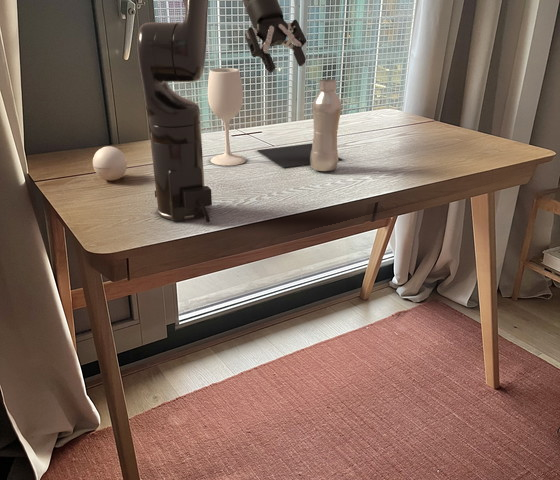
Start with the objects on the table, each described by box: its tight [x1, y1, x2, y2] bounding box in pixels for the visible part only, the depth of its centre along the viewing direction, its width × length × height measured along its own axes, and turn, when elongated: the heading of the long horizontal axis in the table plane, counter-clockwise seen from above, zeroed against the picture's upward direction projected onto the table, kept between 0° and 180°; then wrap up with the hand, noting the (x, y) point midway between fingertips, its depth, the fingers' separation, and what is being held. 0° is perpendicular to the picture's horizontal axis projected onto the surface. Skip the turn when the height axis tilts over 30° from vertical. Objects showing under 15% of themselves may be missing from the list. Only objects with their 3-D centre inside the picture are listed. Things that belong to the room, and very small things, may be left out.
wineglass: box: [207, 67, 247, 167], centre depth 135 cm, size 9×9×21 cm
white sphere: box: [82, 145, 128, 182], centre depth 125 cm, size 10×7×7 cm
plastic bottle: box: [309, 78, 343, 172], centre depth 129 cm, size 6×7×20 cm
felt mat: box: [257, 142, 343, 169], centre depth 144 cm, size 16×16×1 cm
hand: (287, 67), depth 133 cm, fingers open, 8 cm apart
